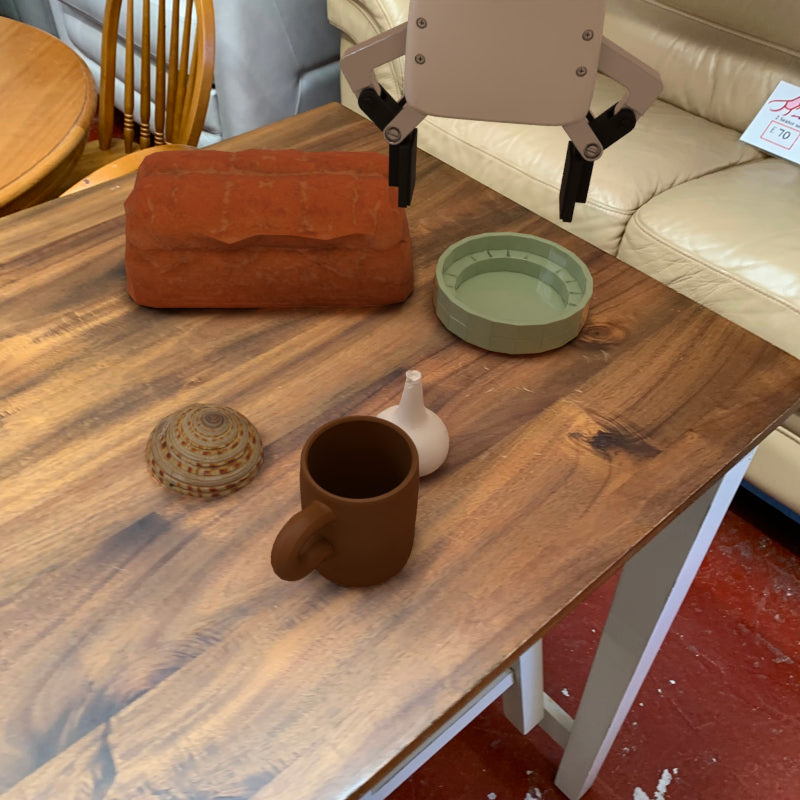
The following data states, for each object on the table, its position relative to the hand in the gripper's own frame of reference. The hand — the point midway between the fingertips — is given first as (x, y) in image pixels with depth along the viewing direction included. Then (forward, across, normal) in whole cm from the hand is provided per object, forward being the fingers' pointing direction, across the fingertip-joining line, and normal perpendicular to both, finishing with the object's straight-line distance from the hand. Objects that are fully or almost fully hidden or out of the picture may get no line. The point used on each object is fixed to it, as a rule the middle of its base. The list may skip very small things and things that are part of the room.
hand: (485, 203), depth 50 cm
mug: (+22, +7, +13) cm, 26 cm away
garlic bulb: (+22, +4, +2) cm, 22 cm away
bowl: (+21, -3, -18) cm, 28 cm away
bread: (+21, +20, -20) cm, 35 cm away
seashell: (+21, +19, +5) cm, 29 cm away
